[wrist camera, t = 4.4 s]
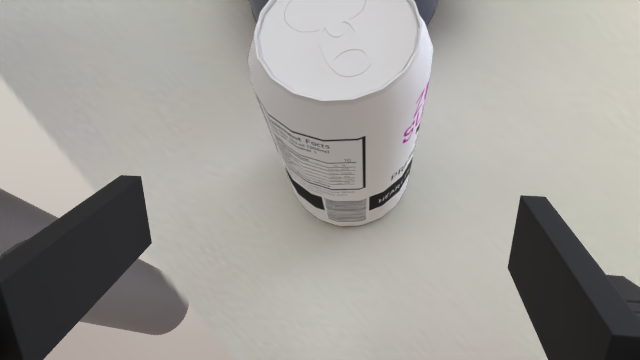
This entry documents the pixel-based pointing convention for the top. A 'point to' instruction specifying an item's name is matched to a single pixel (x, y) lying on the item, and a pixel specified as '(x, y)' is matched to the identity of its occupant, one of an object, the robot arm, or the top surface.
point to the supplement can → (343, 99)
